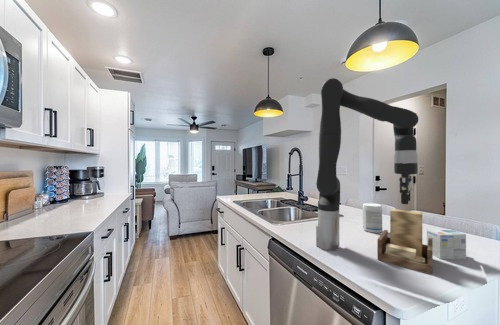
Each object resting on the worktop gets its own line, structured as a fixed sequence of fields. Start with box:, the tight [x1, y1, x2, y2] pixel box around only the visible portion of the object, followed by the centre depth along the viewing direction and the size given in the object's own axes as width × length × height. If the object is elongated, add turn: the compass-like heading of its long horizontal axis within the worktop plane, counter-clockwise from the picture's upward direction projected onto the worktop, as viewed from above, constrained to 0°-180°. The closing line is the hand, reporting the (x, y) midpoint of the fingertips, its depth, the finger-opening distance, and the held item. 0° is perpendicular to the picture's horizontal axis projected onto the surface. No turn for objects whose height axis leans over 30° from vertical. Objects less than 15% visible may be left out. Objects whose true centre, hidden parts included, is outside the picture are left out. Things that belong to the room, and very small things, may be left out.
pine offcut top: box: [386, 243, 416, 260], centre depth 80 cm, size 9×4×2 cm, turn 49°
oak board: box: [389, 208, 423, 257], centre depth 85 cm, size 10×4×18 cm, turn 49°
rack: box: [376, 229, 434, 275], centre depth 82 cm, size 16×15×9 cm
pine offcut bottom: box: [384, 250, 425, 264], centre depth 79 cm, size 12×4×3 cm, turn 49°
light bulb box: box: [426, 228, 467, 260], centre depth 85 cm, size 11×7×11 cm, turn 92°
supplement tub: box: [362, 202, 383, 234], centre depth 119 cm, size 10×10×15 cm
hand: (405, 202), depth 85 cm, fingers open, 8 cm apart
